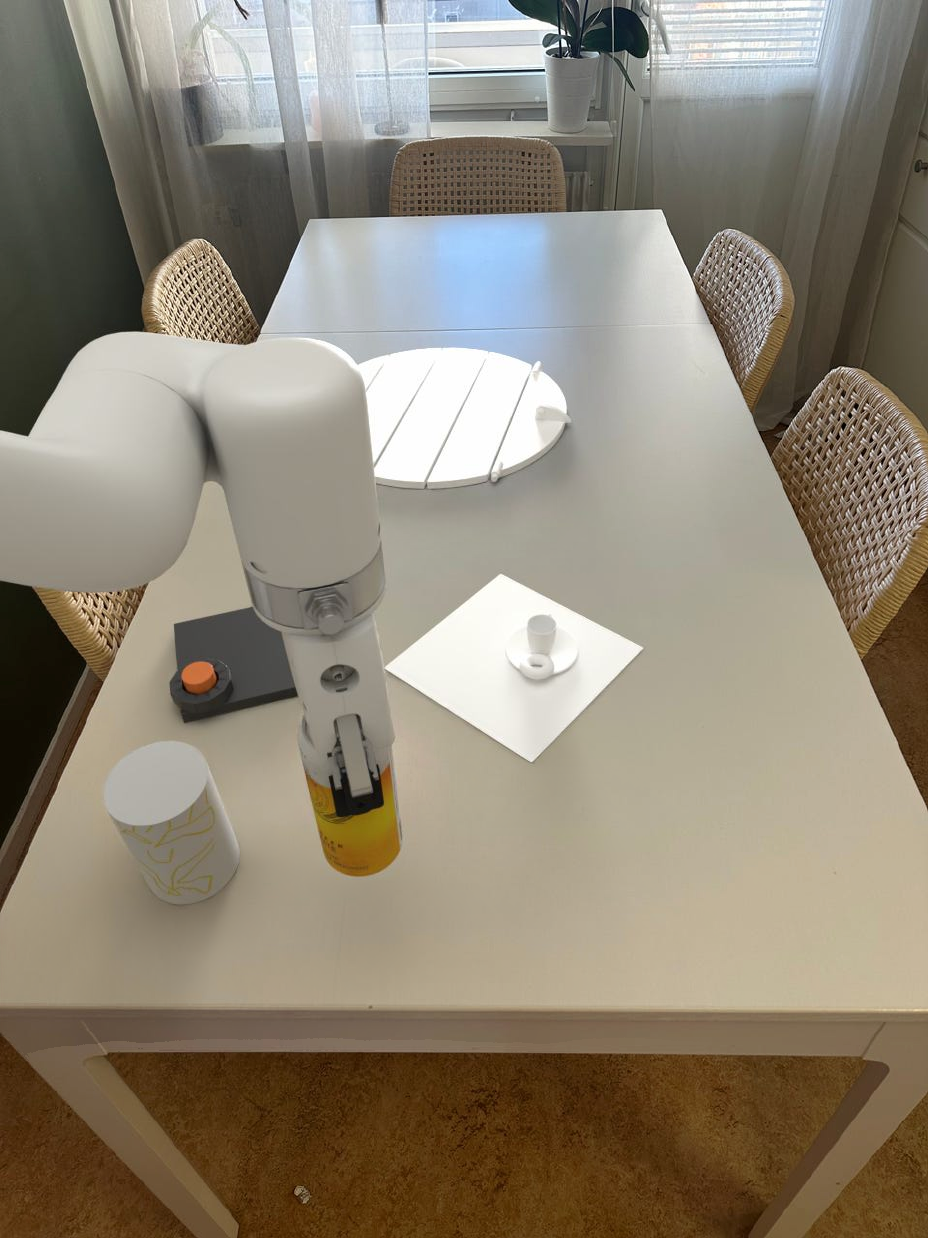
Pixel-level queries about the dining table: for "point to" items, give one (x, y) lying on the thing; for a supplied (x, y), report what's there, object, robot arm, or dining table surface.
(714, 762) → the dining table surface
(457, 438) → the lazy susan
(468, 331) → the dining table surface
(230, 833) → the cup
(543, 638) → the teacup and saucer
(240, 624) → the scale
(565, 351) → the dining table surface
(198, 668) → the power button
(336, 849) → the beer can
